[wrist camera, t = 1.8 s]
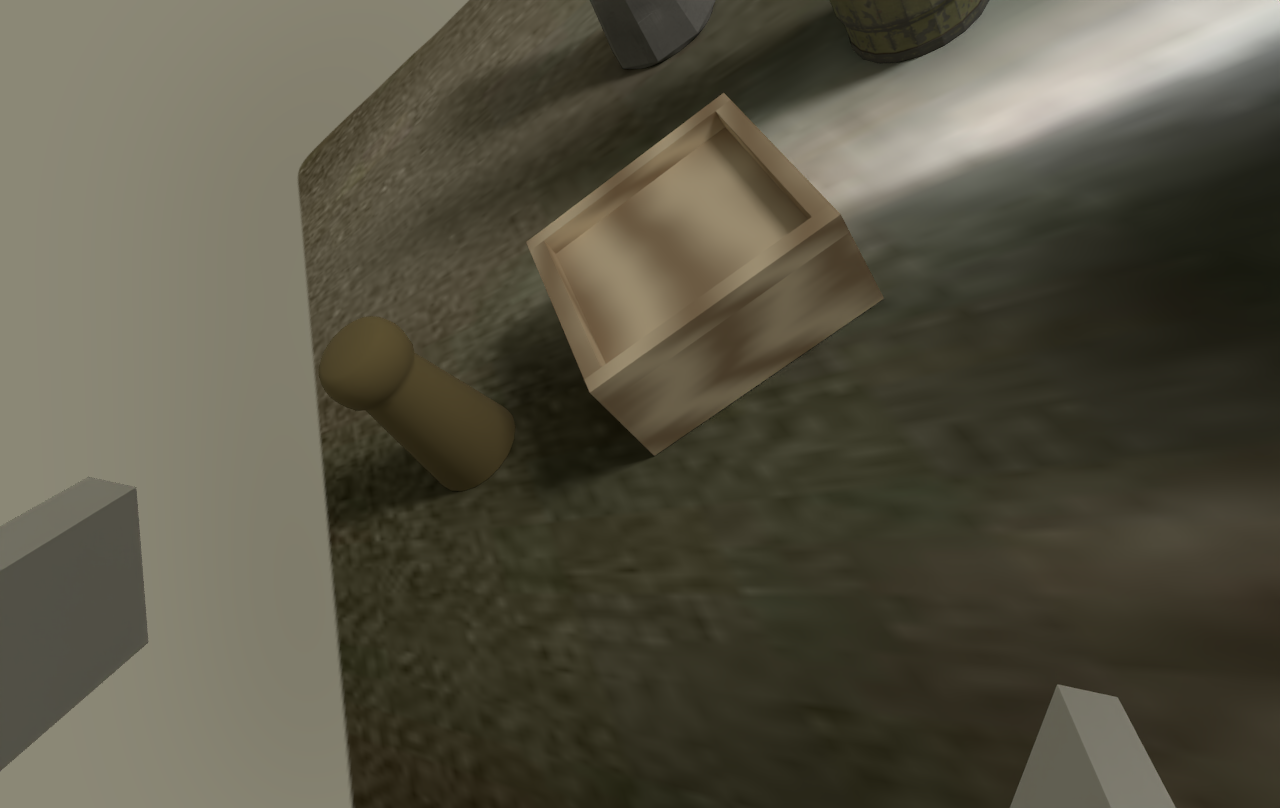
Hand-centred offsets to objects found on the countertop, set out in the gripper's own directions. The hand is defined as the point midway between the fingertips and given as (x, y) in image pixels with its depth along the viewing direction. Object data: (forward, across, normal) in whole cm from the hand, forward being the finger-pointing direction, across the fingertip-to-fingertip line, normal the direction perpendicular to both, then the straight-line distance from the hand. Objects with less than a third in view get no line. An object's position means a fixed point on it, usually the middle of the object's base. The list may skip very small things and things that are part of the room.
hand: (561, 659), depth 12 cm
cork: (+37, -13, -15) cm, 42 cm away
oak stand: (+38, 0, -4) cm, 39 cm away
